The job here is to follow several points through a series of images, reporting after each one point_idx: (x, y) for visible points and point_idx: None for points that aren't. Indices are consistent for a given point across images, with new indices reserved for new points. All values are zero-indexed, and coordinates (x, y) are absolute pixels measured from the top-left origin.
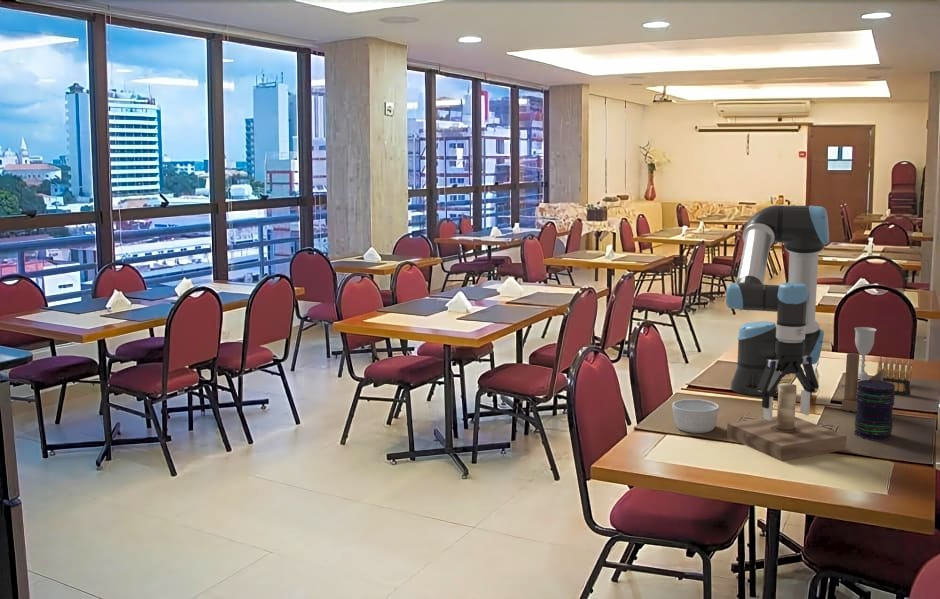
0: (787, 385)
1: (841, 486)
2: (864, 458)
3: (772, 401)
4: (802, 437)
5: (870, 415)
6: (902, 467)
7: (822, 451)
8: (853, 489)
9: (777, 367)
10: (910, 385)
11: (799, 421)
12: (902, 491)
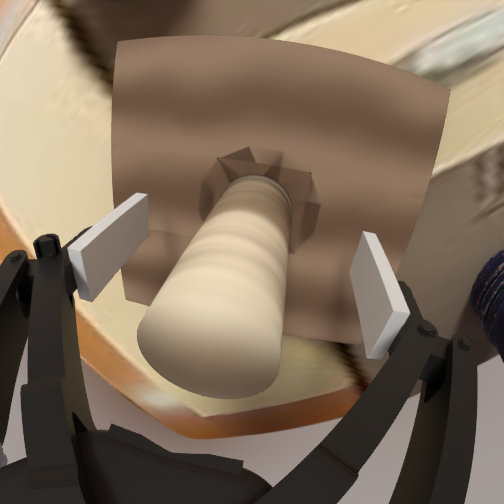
0: (201, 360)
1: (164, 384)
2: (330, 358)
3: (102, 285)
4: None
5: (498, 340)
6: (333, 400)
7: None
8: (172, 394)
9: (38, 450)
10: None
11: (401, 173)
12: (231, 423)
